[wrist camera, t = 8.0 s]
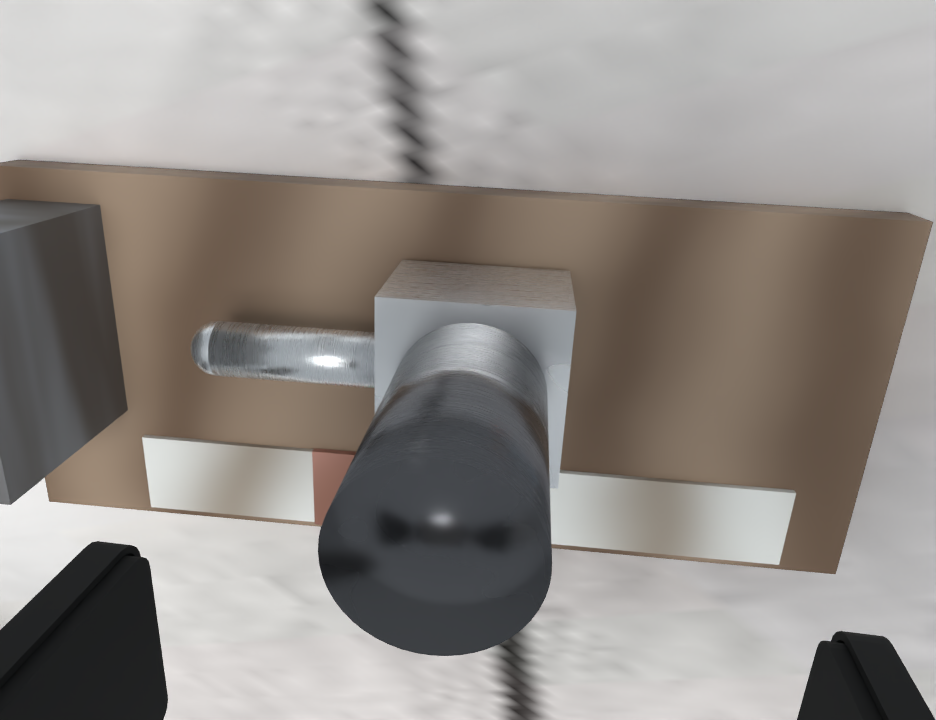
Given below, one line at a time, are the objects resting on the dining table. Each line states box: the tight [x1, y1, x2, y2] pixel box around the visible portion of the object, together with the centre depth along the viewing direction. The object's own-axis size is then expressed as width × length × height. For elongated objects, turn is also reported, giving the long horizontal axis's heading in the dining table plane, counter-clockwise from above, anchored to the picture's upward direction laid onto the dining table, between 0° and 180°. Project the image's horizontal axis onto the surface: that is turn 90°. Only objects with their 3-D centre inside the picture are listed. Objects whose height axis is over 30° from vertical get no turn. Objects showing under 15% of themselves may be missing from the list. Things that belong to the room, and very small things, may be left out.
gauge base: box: [0, 160, 933, 574], centre depth 22 cm, size 28×12×8 cm, turn 87°
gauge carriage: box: [190, 260, 576, 656], centre depth 18 cm, size 11×9×11 cm
